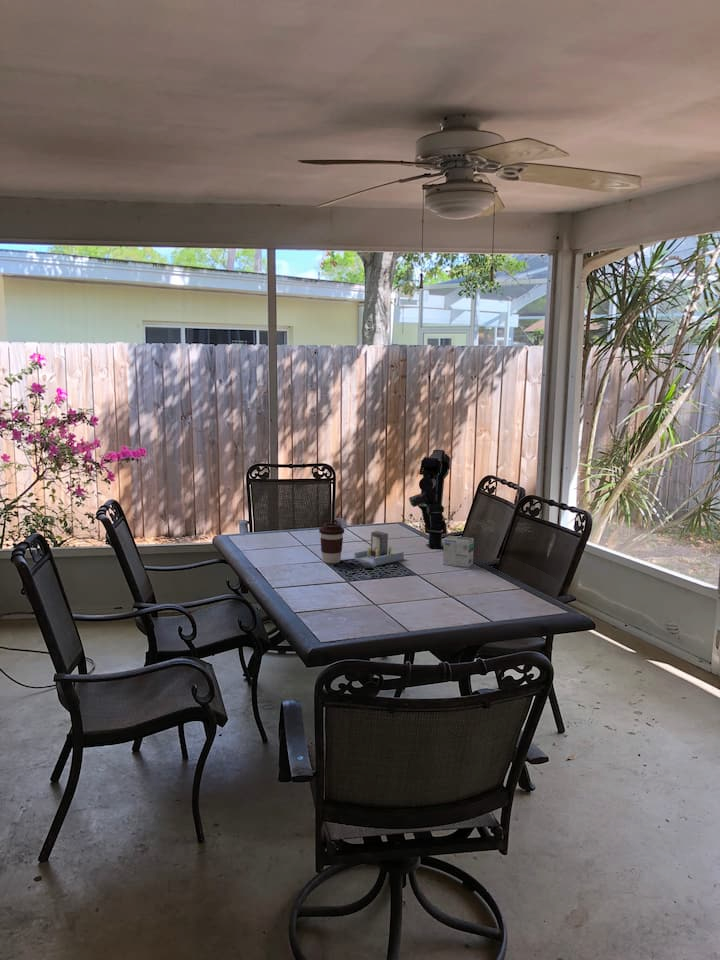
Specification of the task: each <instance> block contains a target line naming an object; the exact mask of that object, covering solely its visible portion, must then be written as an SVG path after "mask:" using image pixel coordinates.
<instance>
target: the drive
mask: <svg viewBox="0 0 720 960" xmlns="http://www.w3.org/2000/svg"><path fill="white" fill-rule="evenodd" d="M370 533H371V534H370V537H371V538H370V549H371V557H376V550H379V557H380V556H384V555H387V552H388V547H389V546H388V545H389V544H388V542H389V533H387V532H382V531H379V530H375V531H372V532H370Z"/></svg>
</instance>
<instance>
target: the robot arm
mask: <svg viewBox="0 0 720 960" xmlns="http://www.w3.org/2000/svg"><path fill="white" fill-rule="evenodd" d="M451 466H452V461H451V457H450V456H449V455H448V454H446V451H445V450H444V449H434V450H432V453H431V454H430V455H429V456H424V457H423V458H422V459H421V462H420V469H419V475H421V476H422V478H421V479H420V480H419V482H418V488H419V489H420V493H418V494H415V495H413V496H410V497H408V500H409V503H410V505H411V506H412V507H413V508H415V507H418V508H419V509H420V510H421V515H422V519H423V523H424V533H425V534H428V543H426V544H425V545H426V547H428V548H429V549H444V544H442V543H443V536H444V535H446V534H447V533H448V528H447V527H448V526H447V523H446V520H445V516H444V514H443V513H444V511H445V507H444V506H443V496H444V489H445V488H444V487H445V479H446V478H447V477H448V475H450V474H449V473H450V470H451Z"/></svg>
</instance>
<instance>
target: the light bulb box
mask: <svg viewBox="0 0 720 960" xmlns="http://www.w3.org/2000/svg"><path fill="white" fill-rule="evenodd" d="M474 539H475V538H474V537H465V536H456V535H448V536H446V537H444V538H443V546H444V548H443V551H442V552H443V553H442V554H443V555H442V556H443V557H442V558H443V559H442V562H443V563H442V565H444V566H445V565H446V566H452V567H453V566H454V567H460V568H461V567H462V568H470V567H471V566H472V565H473V564H474V543H475V542H474Z"/></svg>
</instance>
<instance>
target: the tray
mask: <svg viewBox="0 0 720 960" xmlns="http://www.w3.org/2000/svg"><path fill="white" fill-rule="evenodd" d="M354 560H355V561H357V562H360V563H365V564H367V565H371V566H375V567H376V566H380V565H384V564H389V563H393V562H398V561H402V560H404V551H398V552H394V553H392V546H388V551H387V555H384V556H380V557H379V550H376V557H371V546H367V549H364V550H360V551H354Z"/></svg>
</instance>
